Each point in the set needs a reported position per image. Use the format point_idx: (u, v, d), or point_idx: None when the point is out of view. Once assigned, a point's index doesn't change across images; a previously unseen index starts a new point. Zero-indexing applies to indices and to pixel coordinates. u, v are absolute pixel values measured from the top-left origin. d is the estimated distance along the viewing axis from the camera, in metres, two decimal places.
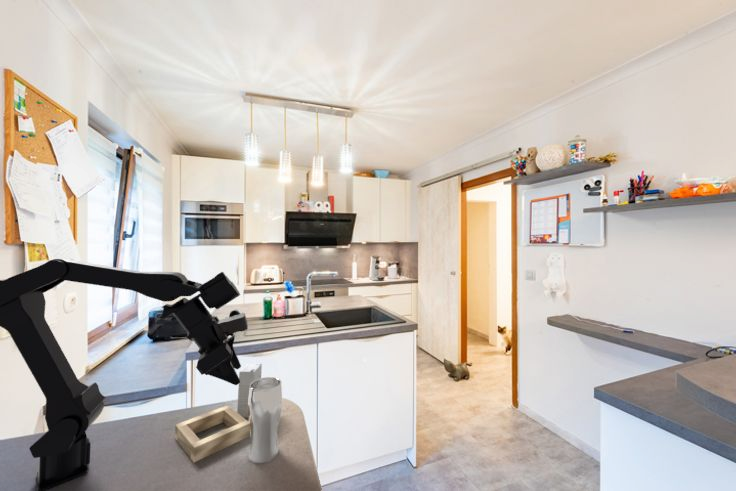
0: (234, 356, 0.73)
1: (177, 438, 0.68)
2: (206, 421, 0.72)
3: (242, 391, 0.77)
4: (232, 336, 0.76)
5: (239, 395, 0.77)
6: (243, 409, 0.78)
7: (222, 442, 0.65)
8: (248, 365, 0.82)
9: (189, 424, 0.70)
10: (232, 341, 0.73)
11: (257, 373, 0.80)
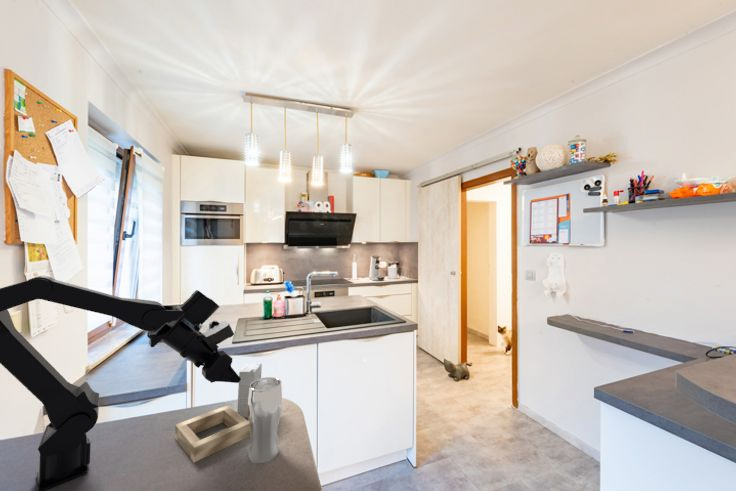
0: None
1: (177, 438, 0.68)
2: (206, 421, 0.72)
3: (242, 391, 0.77)
4: None
5: (239, 395, 0.77)
6: (243, 409, 0.78)
7: (222, 442, 0.65)
8: (248, 365, 0.82)
9: (189, 424, 0.70)
10: (216, 348, 0.80)
11: (257, 373, 0.80)
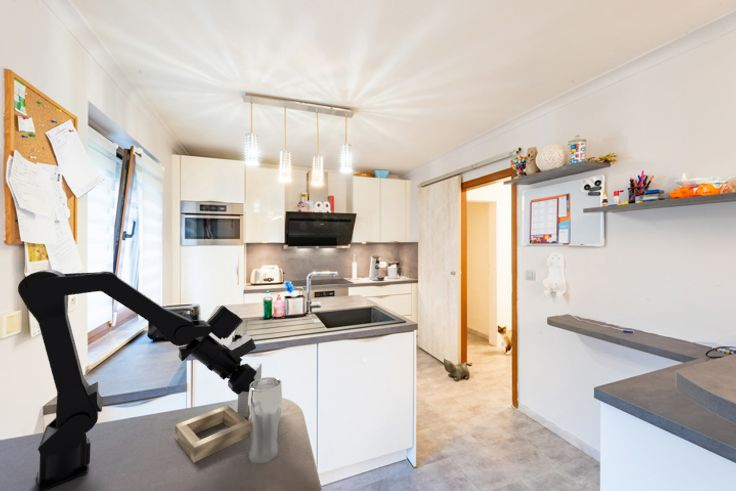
0: None
1: (177, 438, 0.68)
2: (206, 421, 0.72)
3: None
4: None
5: (239, 395, 0.77)
6: (243, 409, 0.78)
7: (222, 442, 0.65)
8: None
9: (189, 424, 0.70)
10: (239, 361, 0.83)
11: (257, 373, 0.80)
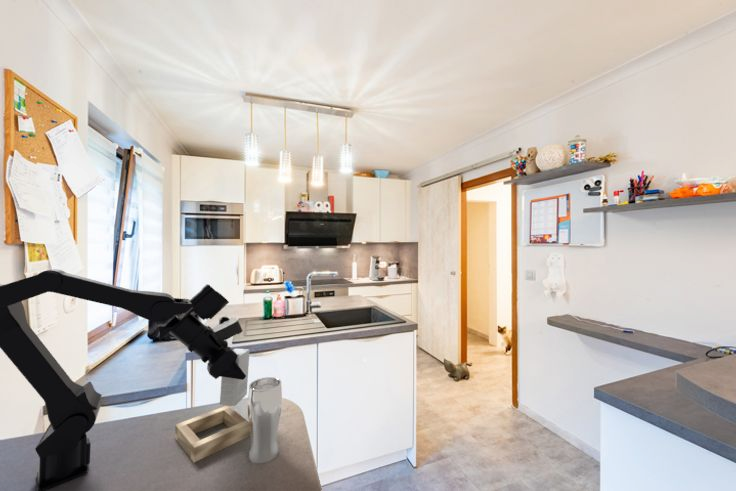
0: None
1: (177, 438, 0.68)
2: (206, 421, 0.72)
3: None
4: None
5: (222, 381, 0.73)
6: (226, 397, 0.72)
7: (222, 442, 0.65)
8: (235, 350, 0.77)
9: (189, 424, 0.70)
10: (226, 346, 0.78)
11: (243, 359, 0.75)
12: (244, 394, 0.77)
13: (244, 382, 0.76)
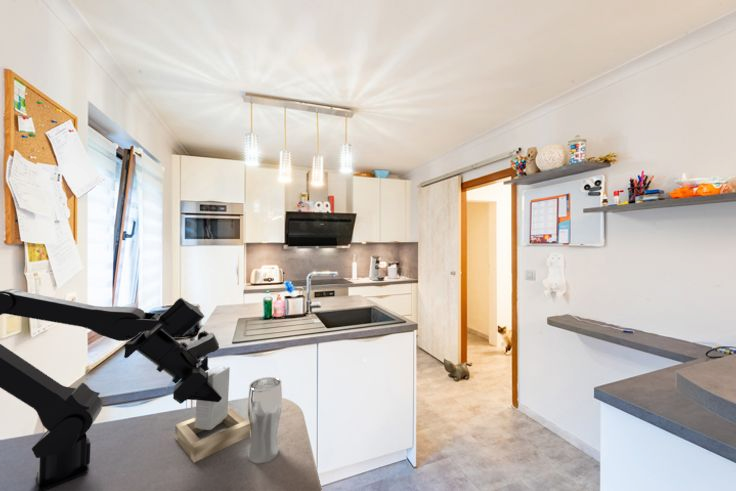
0: None
1: (177, 438, 0.68)
2: None
3: None
4: (205, 357, 0.75)
5: (197, 402, 0.67)
6: (201, 420, 0.67)
7: (222, 442, 0.65)
8: (213, 368, 0.71)
9: (189, 424, 0.70)
10: (206, 363, 0.73)
11: (220, 379, 0.69)
12: (223, 416, 0.71)
13: (223, 403, 0.70)
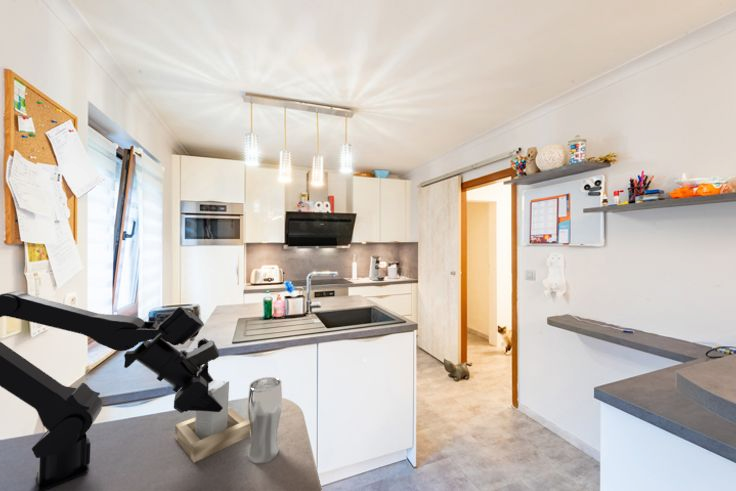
0: None
1: (177, 438, 0.68)
2: None
3: (199, 413, 0.67)
4: None
5: (196, 418, 0.67)
6: (200, 435, 0.67)
7: (222, 442, 0.65)
8: (213, 382, 0.71)
9: (189, 424, 0.70)
10: (206, 369, 0.73)
11: (219, 394, 0.68)
12: None
13: (222, 418, 0.70)
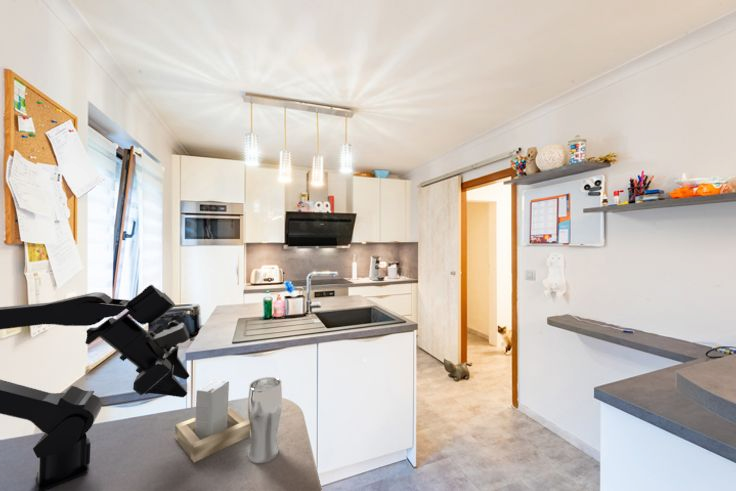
0: (180, 367, 0.71)
1: (177, 438, 0.68)
2: None
3: (199, 413, 0.67)
4: (176, 347, 0.73)
5: (196, 418, 0.67)
6: (200, 435, 0.67)
7: (222, 442, 0.65)
8: (212, 382, 0.71)
9: (189, 424, 0.70)
10: (176, 352, 0.71)
11: (219, 393, 0.68)
12: None
13: (222, 418, 0.70)
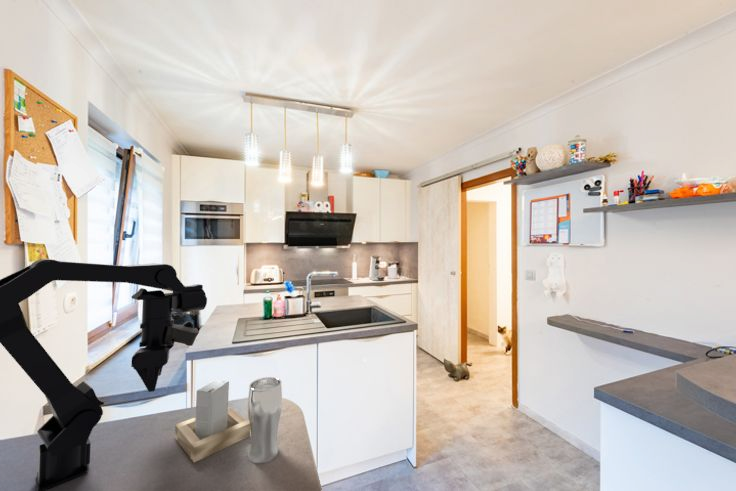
0: None
1: (177, 438, 0.68)
2: None
3: (199, 413, 0.67)
4: None
5: (196, 418, 0.67)
6: (200, 435, 0.67)
7: (222, 442, 0.65)
8: (213, 382, 0.71)
9: (189, 424, 0.70)
10: (169, 348, 0.76)
11: (219, 393, 0.68)
12: None
13: (222, 418, 0.70)
